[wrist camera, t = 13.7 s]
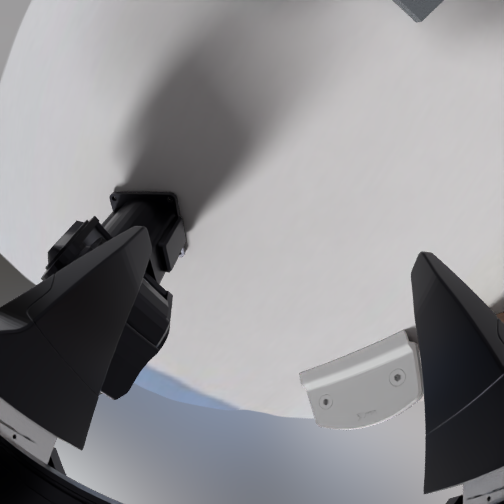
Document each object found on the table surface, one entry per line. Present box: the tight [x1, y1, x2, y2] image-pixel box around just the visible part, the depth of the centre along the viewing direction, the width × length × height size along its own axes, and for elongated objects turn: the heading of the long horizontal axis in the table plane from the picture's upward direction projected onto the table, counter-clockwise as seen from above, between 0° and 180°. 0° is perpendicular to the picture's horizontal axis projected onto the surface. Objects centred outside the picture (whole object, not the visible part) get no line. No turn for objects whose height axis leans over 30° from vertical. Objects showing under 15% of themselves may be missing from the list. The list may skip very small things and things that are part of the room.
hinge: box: [299, 330, 424, 430], centre depth 33 cm, size 17×5×10 cm, turn 135°
